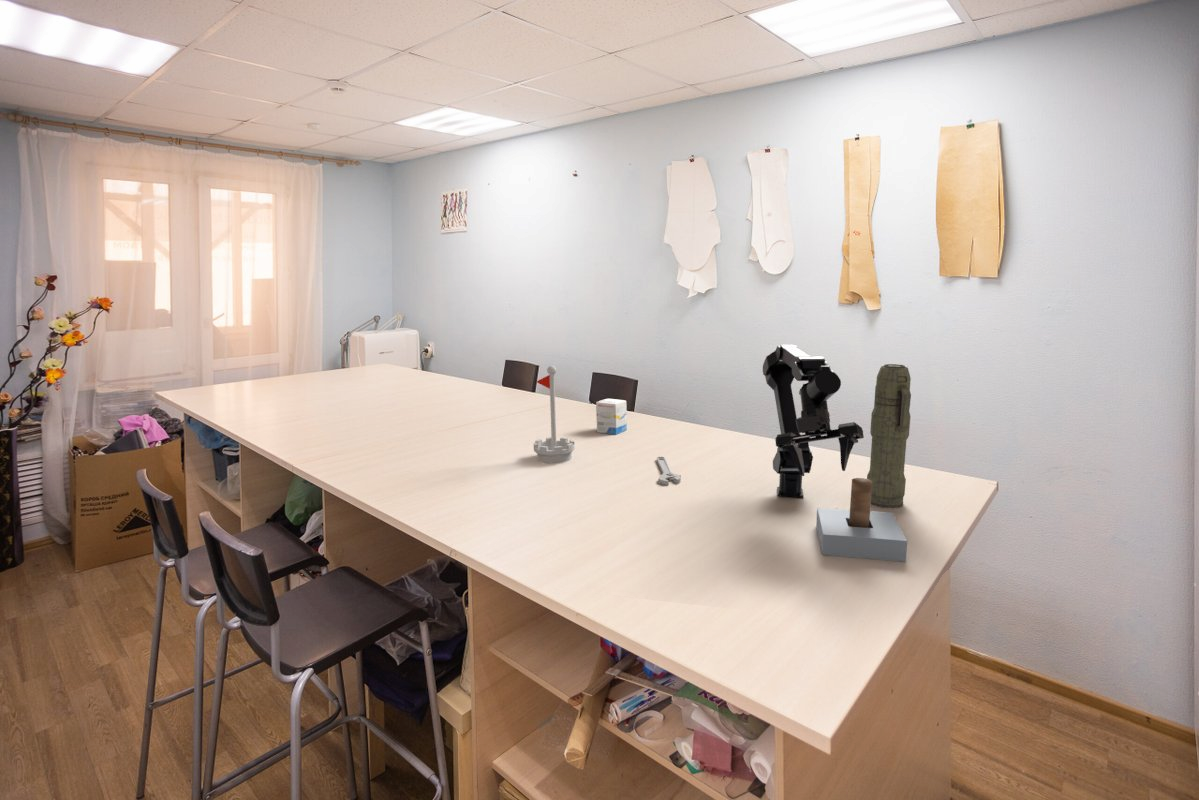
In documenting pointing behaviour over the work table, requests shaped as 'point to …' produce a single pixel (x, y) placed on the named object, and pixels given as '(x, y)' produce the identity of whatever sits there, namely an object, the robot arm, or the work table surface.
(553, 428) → the flag stand
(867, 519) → the pin
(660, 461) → the adjustable wrench
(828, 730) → the work table surface
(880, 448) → the thermos
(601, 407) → the ink box
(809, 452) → the robot arm
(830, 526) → the hole block
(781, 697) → the work table surface
